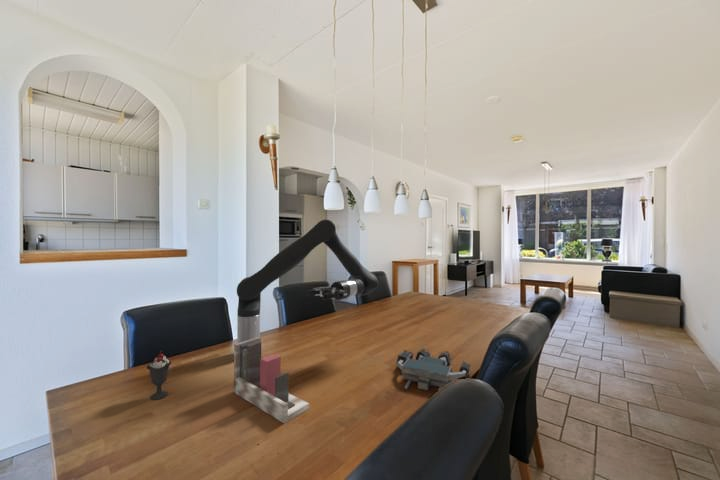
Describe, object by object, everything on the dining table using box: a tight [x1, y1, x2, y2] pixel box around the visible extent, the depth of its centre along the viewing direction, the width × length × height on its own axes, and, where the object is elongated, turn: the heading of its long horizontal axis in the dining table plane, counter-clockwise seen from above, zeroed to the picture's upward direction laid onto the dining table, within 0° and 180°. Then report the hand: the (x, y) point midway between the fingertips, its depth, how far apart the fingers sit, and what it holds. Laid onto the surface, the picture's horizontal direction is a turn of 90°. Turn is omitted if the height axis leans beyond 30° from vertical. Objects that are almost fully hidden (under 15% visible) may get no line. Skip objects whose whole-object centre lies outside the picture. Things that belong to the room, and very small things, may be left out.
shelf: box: [233, 336, 310, 424], centre depth 94 cm, size 26×9×16 cm, turn 53°
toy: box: [396, 348, 472, 391], centre depth 112 cm, size 27×9×30 cm
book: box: [260, 353, 282, 396], centre depth 94 cm, size 4×5×12 cm
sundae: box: [146, 350, 172, 401], centre depth 95 cm, size 7×7×15 cm
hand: (315, 295), depth 110 cm, fingers open, 8 cm apart
